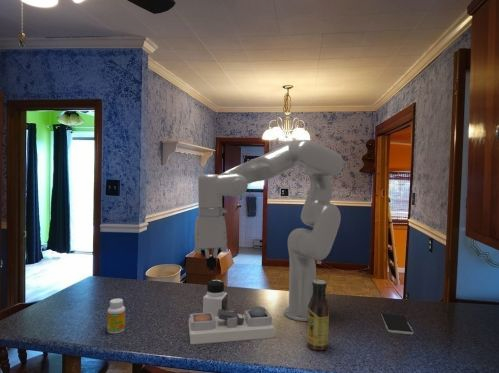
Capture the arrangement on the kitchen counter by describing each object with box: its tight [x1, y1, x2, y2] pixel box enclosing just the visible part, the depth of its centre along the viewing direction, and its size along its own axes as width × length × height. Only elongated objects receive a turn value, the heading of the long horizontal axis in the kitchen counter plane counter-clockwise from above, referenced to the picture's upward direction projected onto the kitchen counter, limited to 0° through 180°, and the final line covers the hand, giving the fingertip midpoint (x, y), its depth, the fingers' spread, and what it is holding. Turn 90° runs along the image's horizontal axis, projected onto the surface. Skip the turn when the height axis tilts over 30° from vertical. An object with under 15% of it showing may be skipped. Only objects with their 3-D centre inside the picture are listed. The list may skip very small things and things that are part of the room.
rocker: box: [217, 309, 244, 324], centre depth 115 cm, size 8×4×2 cm, turn 102°
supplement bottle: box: [106, 298, 126, 335], centre depth 115 cm, size 5×5×10 cm
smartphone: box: [380, 313, 414, 335], centre depth 124 cm, size 8×1×15 cm
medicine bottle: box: [202, 279, 228, 317], centre depth 130 cm, size 7×7×12 cm
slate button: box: [249, 305, 266, 318], centre depth 117 cm, size 5×5×2 cm
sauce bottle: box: [306, 279, 330, 351], centre depth 106 cm, size 7×6×20 cm
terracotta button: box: [195, 314, 211, 322], centre depth 113 cm, size 5×5×2 cm
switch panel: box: [188, 308, 276, 345], centre depth 115 cm, size 26×12×6 cm, turn 102°
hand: (211, 269), depth 115 cm, fingers closed
